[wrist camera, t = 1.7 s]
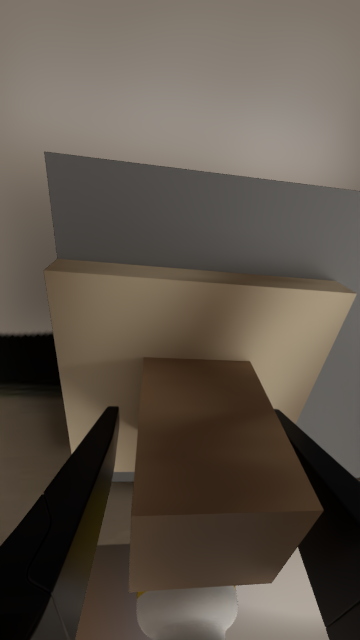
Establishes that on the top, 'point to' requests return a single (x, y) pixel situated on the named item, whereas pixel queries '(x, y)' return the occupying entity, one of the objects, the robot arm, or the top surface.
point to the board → (224, 252)
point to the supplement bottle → (187, 613)
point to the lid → (198, 407)
